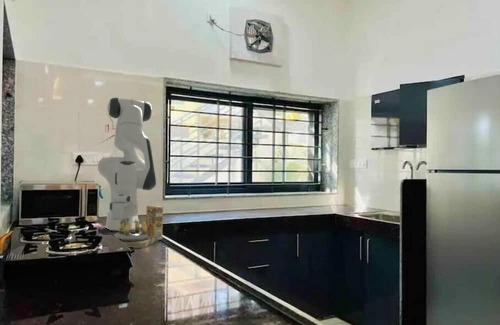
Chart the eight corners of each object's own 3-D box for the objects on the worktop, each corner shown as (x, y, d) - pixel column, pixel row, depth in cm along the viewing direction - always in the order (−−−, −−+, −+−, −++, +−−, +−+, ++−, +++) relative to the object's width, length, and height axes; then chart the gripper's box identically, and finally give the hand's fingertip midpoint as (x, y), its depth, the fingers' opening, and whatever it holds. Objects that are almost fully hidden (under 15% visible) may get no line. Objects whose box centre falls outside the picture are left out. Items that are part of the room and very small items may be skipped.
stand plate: (122, 239, 179) (122, 234, 179) (158, 240, 177) (158, 235, 177) (103, 246, 161) (103, 240, 161) (142, 248, 159) (142, 242, 159)
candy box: (162, 239, 181) (163, 206, 181) (154, 240, 178) (155, 207, 178) (153, 237, 187) (154, 205, 187) (145, 237, 184) (146, 205, 185)
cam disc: (123, 235, 176) (123, 219, 176) (152, 236, 174) (153, 221, 174) (108, 240, 162) (108, 223, 162) (140, 241, 160) (140, 225, 160)
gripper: (128, 195, 184) (127, 224, 183) (109, 198, 164) (108, 230, 163) (141, 196, 183) (140, 225, 183) (124, 198, 163) (123, 231, 163)
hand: (125, 228), depth 173 cm, fingers closed
